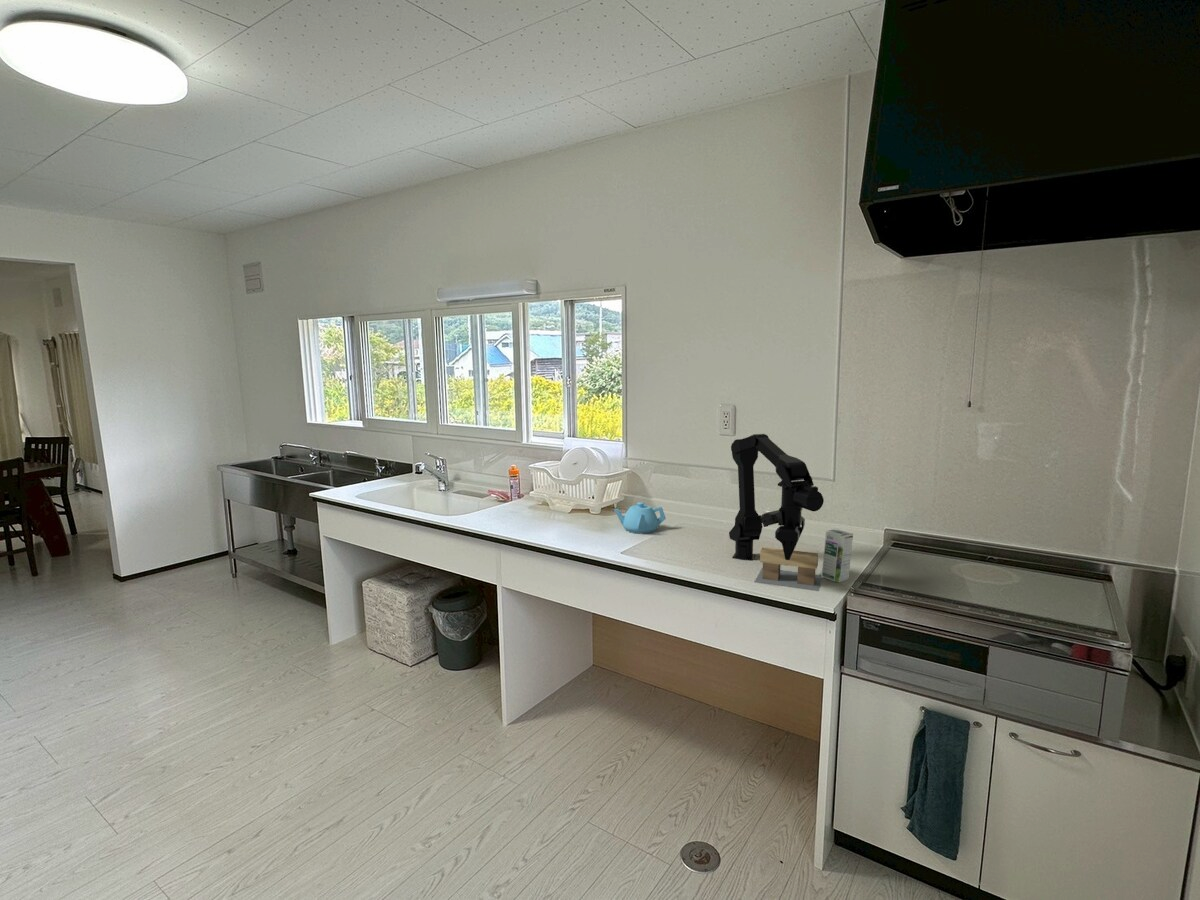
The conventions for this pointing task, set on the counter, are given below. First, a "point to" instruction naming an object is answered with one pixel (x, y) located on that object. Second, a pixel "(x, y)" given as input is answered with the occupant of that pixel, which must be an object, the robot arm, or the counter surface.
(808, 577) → the block
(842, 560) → the syrup box
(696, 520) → the counter surface
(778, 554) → the plank
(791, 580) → the mat
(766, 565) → the block
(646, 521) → the teapot
